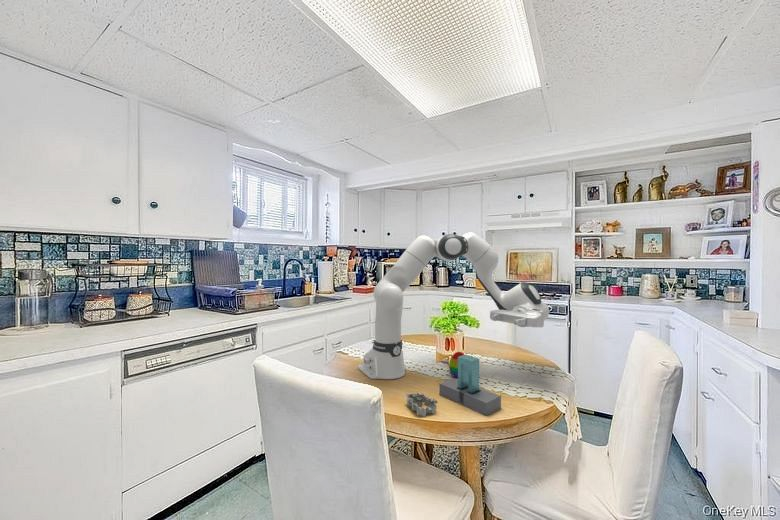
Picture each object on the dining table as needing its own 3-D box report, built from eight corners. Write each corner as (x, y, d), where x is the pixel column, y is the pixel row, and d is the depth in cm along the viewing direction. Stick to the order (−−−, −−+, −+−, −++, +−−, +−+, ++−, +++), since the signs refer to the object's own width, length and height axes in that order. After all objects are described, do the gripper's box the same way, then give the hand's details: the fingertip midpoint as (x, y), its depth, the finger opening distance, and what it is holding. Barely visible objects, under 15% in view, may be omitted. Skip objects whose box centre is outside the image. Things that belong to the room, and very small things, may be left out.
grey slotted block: (439, 394, 119) (439, 383, 119) (454, 388, 124) (454, 378, 124) (486, 415, 103) (486, 403, 103) (501, 407, 108) (500, 395, 108)
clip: (458, 399, 115) (457, 356, 114) (465, 396, 117) (465, 354, 117) (472, 405, 110) (471, 361, 110) (479, 402, 112) (479, 358, 112)
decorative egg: (469, 380, 131) (469, 355, 131) (448, 378, 133) (448, 354, 133) (469, 373, 139) (469, 349, 139) (449, 371, 141) (449, 348, 141)
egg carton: (439, 414, 105) (439, 401, 105) (417, 418, 102) (417, 405, 102) (424, 400, 115) (424, 388, 115) (404, 403, 112) (404, 391, 112)
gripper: (500, 305, 143) (481, 308, 134) (547, 311, 127) (528, 316, 118) (500, 319, 143) (481, 324, 134) (547, 327, 127) (528, 333, 118)
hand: (504, 320), depth 126 cm, fingers open, 8 cm apart
